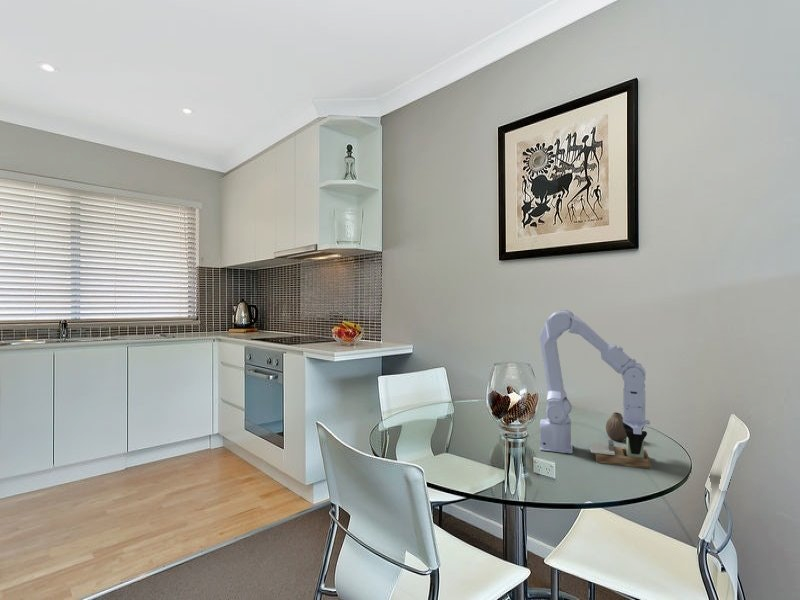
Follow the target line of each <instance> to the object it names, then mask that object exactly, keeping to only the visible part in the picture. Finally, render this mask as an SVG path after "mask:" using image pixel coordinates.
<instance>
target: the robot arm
mask: <svg viewBox="0 0 800 600" xmlns="http://www.w3.org/2000/svg"><path fill="white" fill-rule="evenodd" d="M566 331H568V333H570V334H574V335H579V336H580V337H582V339H584V340H585V341H586V342H588V343H589V344H590V345H592V346H593V347H594V348H595V349H596V350H598V351H599V353H600V357H601V360H602V361H603V362H605V364H607V365H608V366H610V368H612V370H614V371H615V372H616V373H618V374H620V375H621V378H622V381H624V382H623V383H624V384H623V394H622V395H623V397H622V398H623V399H622V401H623V405H622V406H623V408H622V409H623V411H622V412H623V415H622V417H623V422H624V423H622V424H623V426H624V430H625V432H626V434H627V437H628V439H629V445H630V450H631V453H632V454H640V451H641V447H642V443H643V442H644V440H645V439H646V437H647V435H648V432H647V431H646V430H644V427H645V426H646V425H651V420H648V419H646V383H645V381H646V375H647V372H646V370H645V368H644V367H643V365H642V363H640V362H637V360H636V359H635V358H631V357H630V356H629V355H628V354H627V353H625V351H623V350H624V348H623V347H622V346H618V345H616V344H608V342H607V341H605V339H604V338H602V337H601V336H600V335H599V334H598V333H597V332H596V331H595V330H594V329H592V327H590V325H588V324H587V323H586V322H585V321H584V320H583V319H582V318H580V317H579V316H577V315H575V314H574V313H573V312H572V311H571V310H568V309H562V310H559V311H555V312H553V313H552V314H550V315H549V316H548V317H547V319H546V320H545V323H544V325H543V327H542V329H541V331H540V334H539V343H540V351H541V356H542V362H543V370H544V376H545V377H544V378H545V383H546V389H547V394H546V408H545V415H546V418H544V419H543V418H541V419H540V420H539V421H540V422H539V423H540V424H539V425H540V426H539V443H540V444H539V450H541V451H546V452H554V453H563V454H573V443H572V420H571V418H570V416H569V414H570V413H571V412H572V409H573V407H572V403H571V402H570V400H569V398H568V396H567V392H566V390H565V387H564V381H563V374H562V368H561V360H560V357H559V356H560V355H559V348H558V342H557V341H558V339H559V338H560V337H561V336H562V335H563V333H565V332H566Z"/></svg>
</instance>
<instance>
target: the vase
mask: <svg viewBox="0 0 800 600" xmlns="http://www.w3.org/2000/svg"><path fill="white" fill-rule="evenodd" d="M622 423H624V422H623V415H622V413H621V412H617V411H615V412H613V413H612V415H611V416H610V417H609V418H608V419H607V420H606V424H605V432H606V434H607V436H608V437H609V438H610V440H613V441H615V442H623V441H625V440H627V434H626V432H625V430H624V426H623V424H622Z"/></svg>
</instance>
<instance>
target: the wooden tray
mask: <svg viewBox="0 0 800 600" xmlns="http://www.w3.org/2000/svg"><path fill="white" fill-rule="evenodd" d="M614 452H615V455H608V454H599V453H594V455H595V463H601V464H609V465H618V466H623V467H624V466H627V467H634V468H642V469H649V470H651V466H652V465H651V459H650V457H649V453H648V452H647V450H646V449H644V458H637V457H628V456H627V447H626V446H625V447H624V446H616V445H614Z"/></svg>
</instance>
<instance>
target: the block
mask: <svg viewBox="0 0 800 600" xmlns="http://www.w3.org/2000/svg"><path fill="white" fill-rule="evenodd" d="M626 448H627V456H628V457H637V458H644V450H645V443H644V441H643V443H642V447H641V451H640V454H632V453H631V450H630V445H629V439H628V437H627V438H626Z"/></svg>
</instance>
